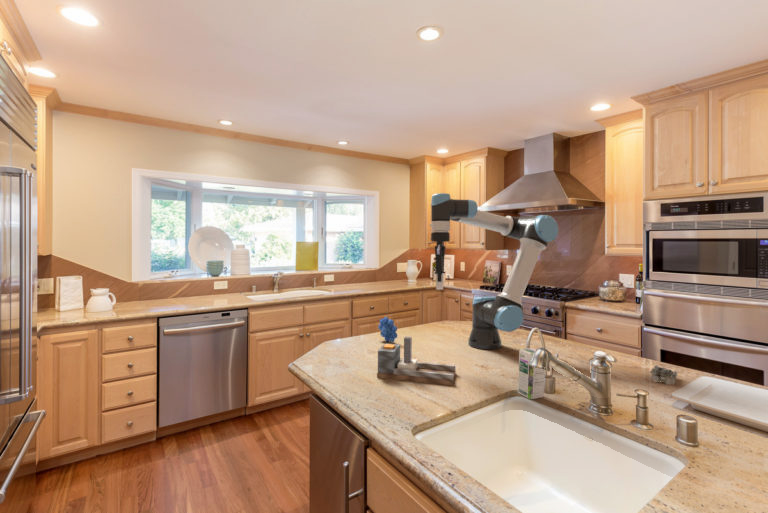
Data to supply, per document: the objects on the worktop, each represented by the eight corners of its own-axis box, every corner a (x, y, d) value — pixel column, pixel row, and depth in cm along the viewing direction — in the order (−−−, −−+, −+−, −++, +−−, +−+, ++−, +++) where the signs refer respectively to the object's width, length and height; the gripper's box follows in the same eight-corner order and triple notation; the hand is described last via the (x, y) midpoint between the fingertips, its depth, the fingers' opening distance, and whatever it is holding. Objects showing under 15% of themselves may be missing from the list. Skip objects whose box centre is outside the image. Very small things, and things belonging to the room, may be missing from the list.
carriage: (417, 367, 142) (417, 335, 141) (413, 373, 135) (414, 340, 134) (401, 365, 143) (402, 334, 143) (397, 372, 137) (397, 339, 136)
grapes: (372, 341, 184) (373, 316, 184) (382, 338, 189) (382, 314, 189) (391, 345, 176) (391, 320, 176) (400, 342, 182) (400, 318, 181)
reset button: (395, 352, 142) (395, 344, 142) (392, 355, 139) (392, 347, 138) (385, 351, 143) (386, 344, 143) (383, 354, 140) (383, 346, 139)
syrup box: (517, 393, 123) (518, 349, 122) (531, 390, 125) (532, 347, 124) (530, 400, 117) (531, 354, 117) (544, 397, 120) (545, 352, 119)
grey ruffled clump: (673, 387, 129) (674, 375, 129) (648, 381, 134) (648, 370, 134) (679, 379, 136) (679, 368, 136) (654, 374, 142) (655, 363, 141)
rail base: (455, 373, 140) (455, 348, 140) (452, 385, 129) (452, 358, 128) (385, 366, 148) (385, 342, 147) (376, 377, 136) (377, 351, 136)
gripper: (433, 232, 161) (432, 287, 162) (428, 231, 148) (428, 291, 149) (451, 232, 159) (450, 287, 160) (447, 231, 146) (447, 291, 147)
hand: (439, 289), depth 155 cm, fingers closed
